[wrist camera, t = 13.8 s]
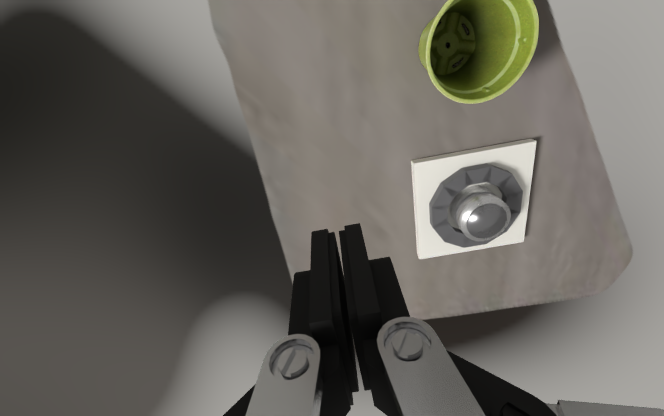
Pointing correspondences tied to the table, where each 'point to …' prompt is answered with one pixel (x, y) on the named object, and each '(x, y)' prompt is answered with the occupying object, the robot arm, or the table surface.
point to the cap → (479, 213)
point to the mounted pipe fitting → (459, 173)
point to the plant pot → (479, 47)
